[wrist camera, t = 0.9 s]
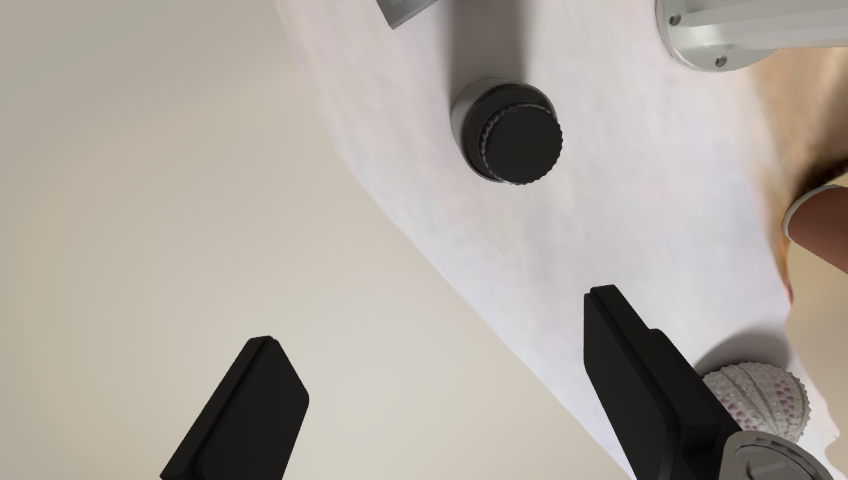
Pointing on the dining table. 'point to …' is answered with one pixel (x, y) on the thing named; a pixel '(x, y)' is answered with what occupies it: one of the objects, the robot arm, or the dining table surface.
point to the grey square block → (401, 10)
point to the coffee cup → (821, 224)
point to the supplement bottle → (506, 131)
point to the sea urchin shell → (762, 398)
